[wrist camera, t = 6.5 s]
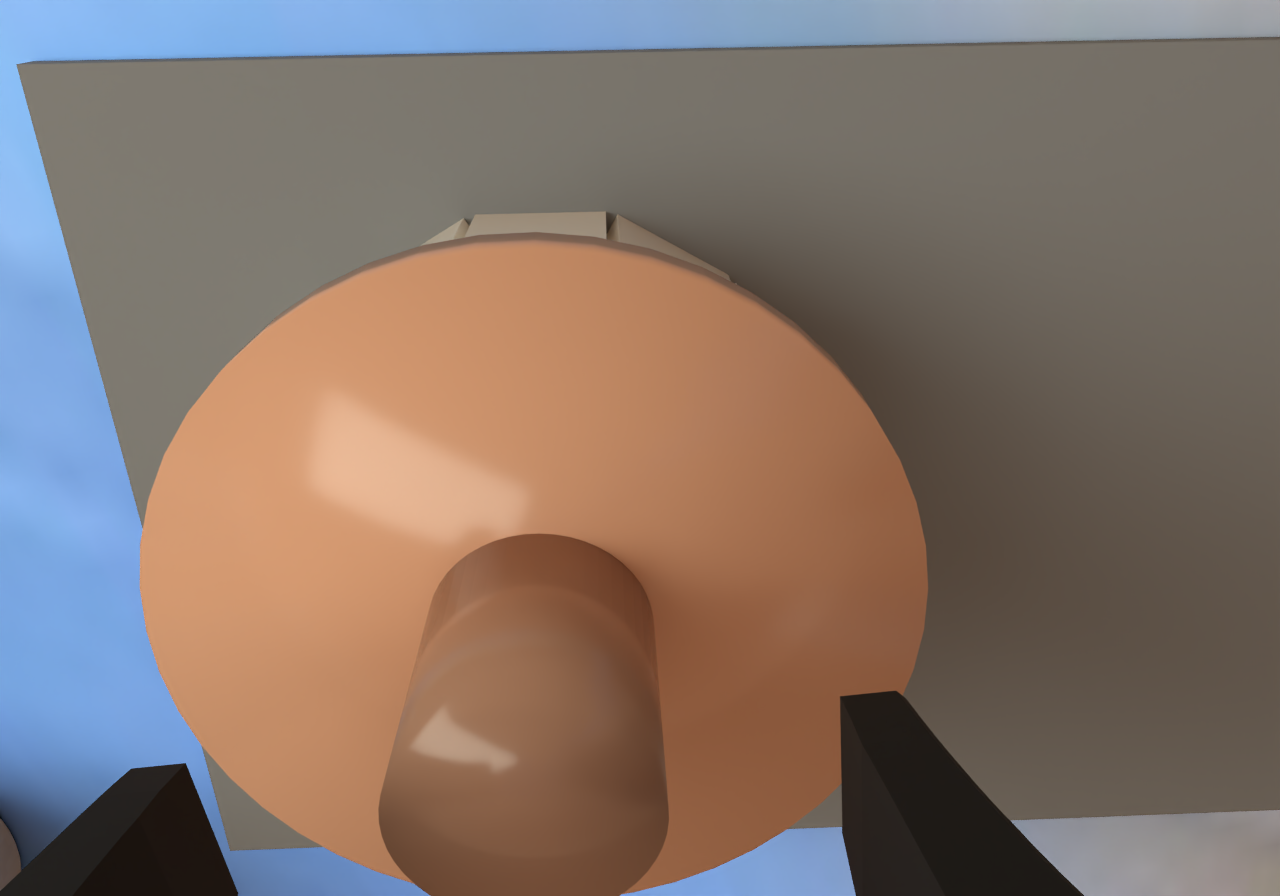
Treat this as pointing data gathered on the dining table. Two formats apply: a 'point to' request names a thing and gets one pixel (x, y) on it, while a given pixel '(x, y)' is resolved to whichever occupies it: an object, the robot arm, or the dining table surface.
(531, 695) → the lid
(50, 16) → the dining table surface
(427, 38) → the dining table surface
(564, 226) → the bowl
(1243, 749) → the mat
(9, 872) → the coffee cup
